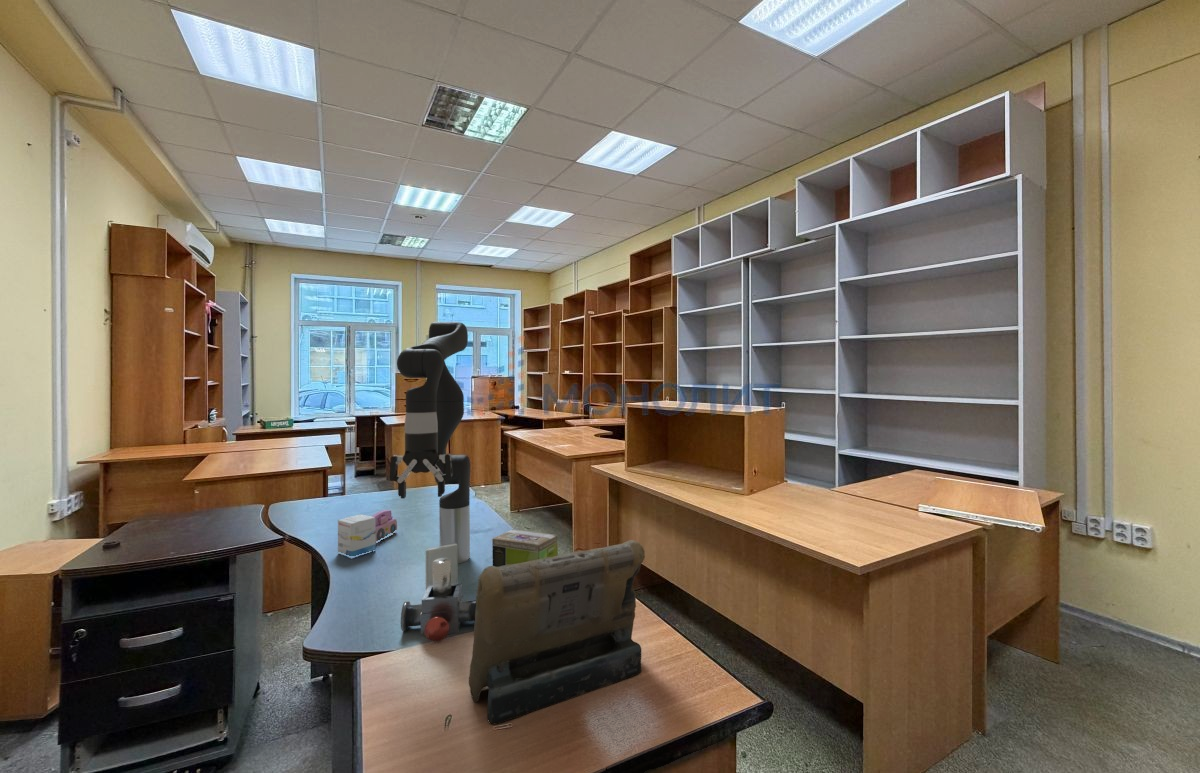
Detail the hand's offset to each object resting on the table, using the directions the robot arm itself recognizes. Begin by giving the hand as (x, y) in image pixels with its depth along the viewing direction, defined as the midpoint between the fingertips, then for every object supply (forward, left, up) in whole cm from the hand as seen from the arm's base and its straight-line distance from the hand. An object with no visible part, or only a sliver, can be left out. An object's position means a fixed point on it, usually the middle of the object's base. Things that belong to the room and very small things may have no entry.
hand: (421, 497), depth 115 cm
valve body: (+8, +6, -28) cm, 30 cm away
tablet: (+33, +31, -28) cm, 54 cm away
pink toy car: (-63, -26, -28) cm, 74 cm away
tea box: (-8, +25, -28) cm, 39 cm away
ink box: (-47, -30, -28) cm, 63 cm away
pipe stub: (+8, +6, -23) cm, 25 cm away
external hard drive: (-10, +3, -28) cm, 30 cm away
